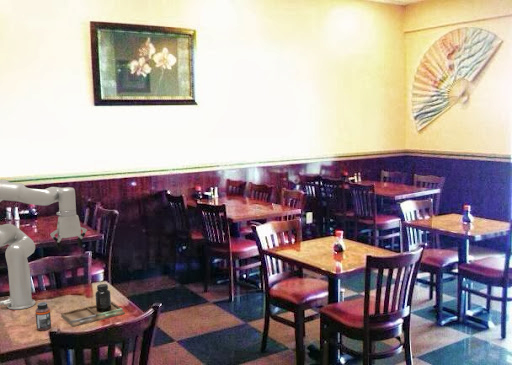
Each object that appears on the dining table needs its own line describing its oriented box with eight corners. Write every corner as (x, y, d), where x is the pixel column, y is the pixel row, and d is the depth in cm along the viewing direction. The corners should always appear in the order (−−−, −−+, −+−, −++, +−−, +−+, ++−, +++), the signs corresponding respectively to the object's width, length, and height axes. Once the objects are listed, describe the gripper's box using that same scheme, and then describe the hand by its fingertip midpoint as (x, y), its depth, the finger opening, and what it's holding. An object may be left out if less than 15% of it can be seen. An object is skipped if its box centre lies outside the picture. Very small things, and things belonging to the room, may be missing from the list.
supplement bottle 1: (39, 325, 238) (37, 301, 236) (52, 325, 238) (51, 300, 237) (34, 331, 232) (33, 306, 230) (48, 330, 232) (47, 305, 231)
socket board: (72, 327, 236) (72, 323, 236) (61, 316, 248) (61, 313, 248) (124, 313, 251) (124, 310, 251) (111, 304, 263) (111, 301, 263)
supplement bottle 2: (114, 308, 256) (112, 283, 255) (106, 313, 250) (104, 288, 248) (101, 306, 258) (100, 282, 257) (93, 311, 252) (91, 287, 250)
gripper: (51, 216, 249) (54, 252, 252) (88, 212, 260) (90, 246, 262) (46, 214, 255) (49, 249, 258) (82, 210, 266) (84, 244, 268)
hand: (69, 248), depth 260 cm, fingers open, 9 cm apart
